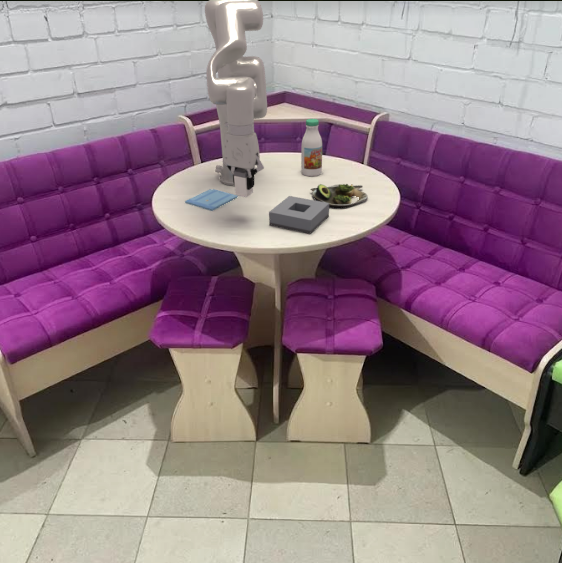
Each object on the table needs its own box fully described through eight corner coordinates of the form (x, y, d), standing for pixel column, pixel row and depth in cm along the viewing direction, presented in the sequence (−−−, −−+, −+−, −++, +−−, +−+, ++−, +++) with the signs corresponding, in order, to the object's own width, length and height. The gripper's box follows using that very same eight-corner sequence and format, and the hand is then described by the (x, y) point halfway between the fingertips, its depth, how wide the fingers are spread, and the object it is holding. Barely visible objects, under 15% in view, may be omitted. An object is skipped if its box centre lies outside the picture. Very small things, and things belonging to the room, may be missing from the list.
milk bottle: (297, 174, 212) (297, 121, 202) (308, 168, 217) (308, 116, 207) (314, 178, 208) (315, 124, 198) (325, 172, 214) (327, 119, 203)
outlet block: (269, 225, 174) (269, 211, 172) (289, 208, 185) (289, 195, 183) (310, 233, 169) (310, 220, 166) (328, 216, 179) (329, 203, 177)
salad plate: (347, 183, 204) (347, 171, 202) (380, 199, 191) (381, 186, 189) (303, 195, 195) (303, 183, 193) (335, 213, 182) (336, 199, 180)
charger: (235, 195, 175) (233, 171, 170) (242, 189, 177) (240, 166, 173) (246, 197, 173) (245, 173, 168) (253, 192, 176) (251, 168, 171)
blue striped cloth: (211, 191, 200) (211, 188, 199) (238, 198, 194) (237, 195, 193) (185, 204, 191) (184, 200, 190) (212, 212, 185) (211, 208, 184)
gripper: (209, 128, 164) (214, 186, 174) (260, 136, 158) (261, 196, 168) (223, 120, 170) (227, 177, 180) (272, 128, 163) (273, 187, 174)
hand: (243, 186), depth 174 cm, fingers closed on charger, 4 cm apart
